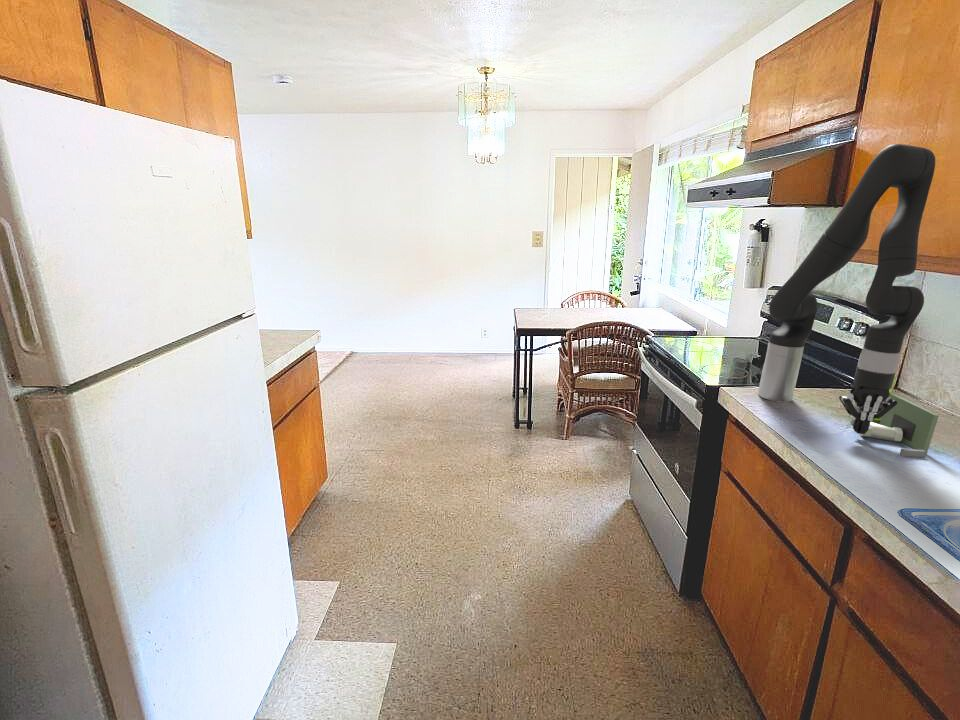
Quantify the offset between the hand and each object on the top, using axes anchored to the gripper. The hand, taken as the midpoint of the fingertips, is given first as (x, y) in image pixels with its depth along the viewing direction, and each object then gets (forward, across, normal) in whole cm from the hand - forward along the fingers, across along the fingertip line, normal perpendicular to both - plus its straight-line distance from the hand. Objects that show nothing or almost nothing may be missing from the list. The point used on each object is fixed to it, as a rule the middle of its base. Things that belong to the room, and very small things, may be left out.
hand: (859, 432), depth 125 cm
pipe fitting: (+2, -6, -2) cm, 7 cm away
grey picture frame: (+2, -8, 0) cm, 8 cm away
